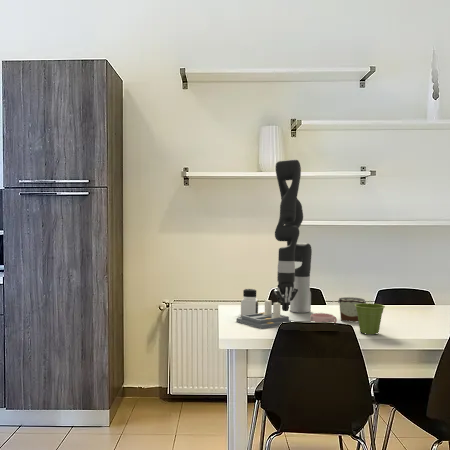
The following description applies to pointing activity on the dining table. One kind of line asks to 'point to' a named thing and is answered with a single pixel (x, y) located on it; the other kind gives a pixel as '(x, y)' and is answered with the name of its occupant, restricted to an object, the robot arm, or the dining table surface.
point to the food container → (349, 308)
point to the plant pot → (369, 317)
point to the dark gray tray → (262, 320)
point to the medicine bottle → (249, 302)
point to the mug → (323, 317)
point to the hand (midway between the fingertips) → (285, 310)
